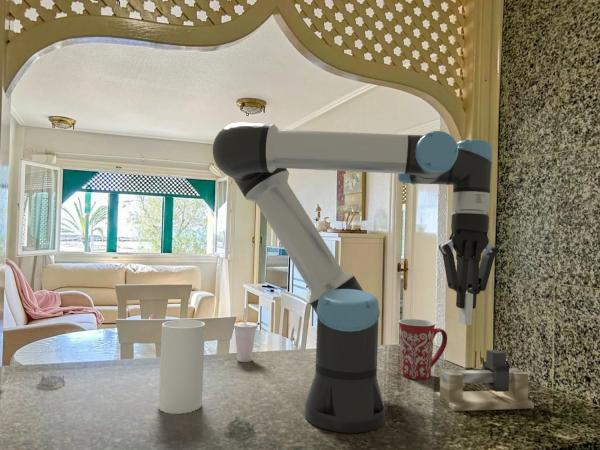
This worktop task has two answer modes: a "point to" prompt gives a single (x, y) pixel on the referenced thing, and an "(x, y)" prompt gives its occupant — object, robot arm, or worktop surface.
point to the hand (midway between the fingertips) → (465, 323)
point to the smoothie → (245, 339)
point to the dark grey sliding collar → (497, 370)
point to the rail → (482, 400)
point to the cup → (181, 366)
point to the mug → (418, 347)
